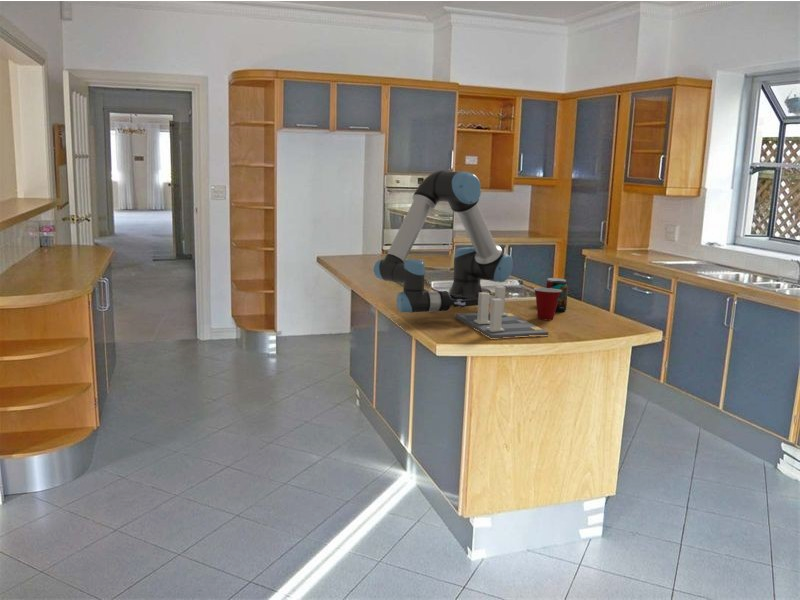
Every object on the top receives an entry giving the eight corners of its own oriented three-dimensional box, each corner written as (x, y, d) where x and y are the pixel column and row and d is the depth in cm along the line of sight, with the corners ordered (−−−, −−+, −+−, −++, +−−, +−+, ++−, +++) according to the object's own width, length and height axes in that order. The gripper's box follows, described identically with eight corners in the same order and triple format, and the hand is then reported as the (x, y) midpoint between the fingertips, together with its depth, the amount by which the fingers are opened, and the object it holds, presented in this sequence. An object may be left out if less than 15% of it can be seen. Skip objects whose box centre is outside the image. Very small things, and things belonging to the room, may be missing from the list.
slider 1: (473, 321, 260) (475, 292, 258) (486, 320, 261) (487, 291, 259) (478, 324, 256) (480, 294, 254) (491, 323, 257) (492, 294, 255)
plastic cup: (559, 316, 281) (561, 286, 278) (559, 322, 270) (562, 291, 268) (531, 314, 283) (533, 285, 280) (531, 320, 272) (533, 289, 270)
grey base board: (455, 317, 273) (455, 313, 273) (507, 315, 280) (507, 311, 279) (491, 339, 242) (491, 334, 242) (548, 336, 249) (548, 331, 249)
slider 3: (490, 313, 274) (492, 285, 271) (502, 313, 275) (503, 285, 273) (495, 316, 270) (496, 287, 267) (507, 315, 271) (508, 287, 269)
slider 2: (486, 328, 250) (487, 298, 247) (499, 328, 251) (500, 297, 249) (491, 331, 246) (493, 300, 243) (504, 331, 247) (506, 300, 245)
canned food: (564, 307, 299) (566, 281, 296) (545, 305, 300) (547, 280, 298) (564, 303, 306) (566, 278, 304) (545, 302, 308) (547, 277, 305)
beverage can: (566, 313, 287) (568, 284, 285) (548, 311, 289) (551, 283, 286) (565, 309, 294) (567, 281, 292) (548, 308, 295) (550, 280, 293)
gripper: (431, 307, 270) (488, 305, 277) (443, 314, 258) (502, 312, 265) (432, 288, 269) (489, 286, 276) (444, 294, 257) (503, 292, 264)
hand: (495, 299), depth 271 cm, fingers closed
